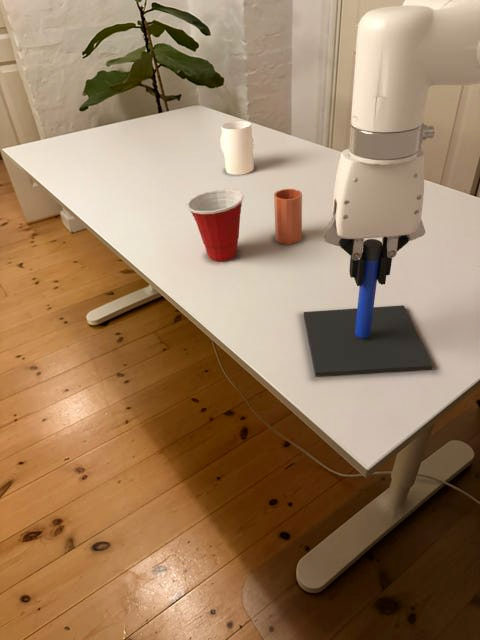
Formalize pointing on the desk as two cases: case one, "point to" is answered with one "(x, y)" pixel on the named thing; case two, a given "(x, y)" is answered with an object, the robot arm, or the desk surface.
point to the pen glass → (288, 215)
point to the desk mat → (364, 343)
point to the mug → (237, 147)
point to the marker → (368, 287)
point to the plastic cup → (218, 221)
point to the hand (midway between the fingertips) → (368, 278)
